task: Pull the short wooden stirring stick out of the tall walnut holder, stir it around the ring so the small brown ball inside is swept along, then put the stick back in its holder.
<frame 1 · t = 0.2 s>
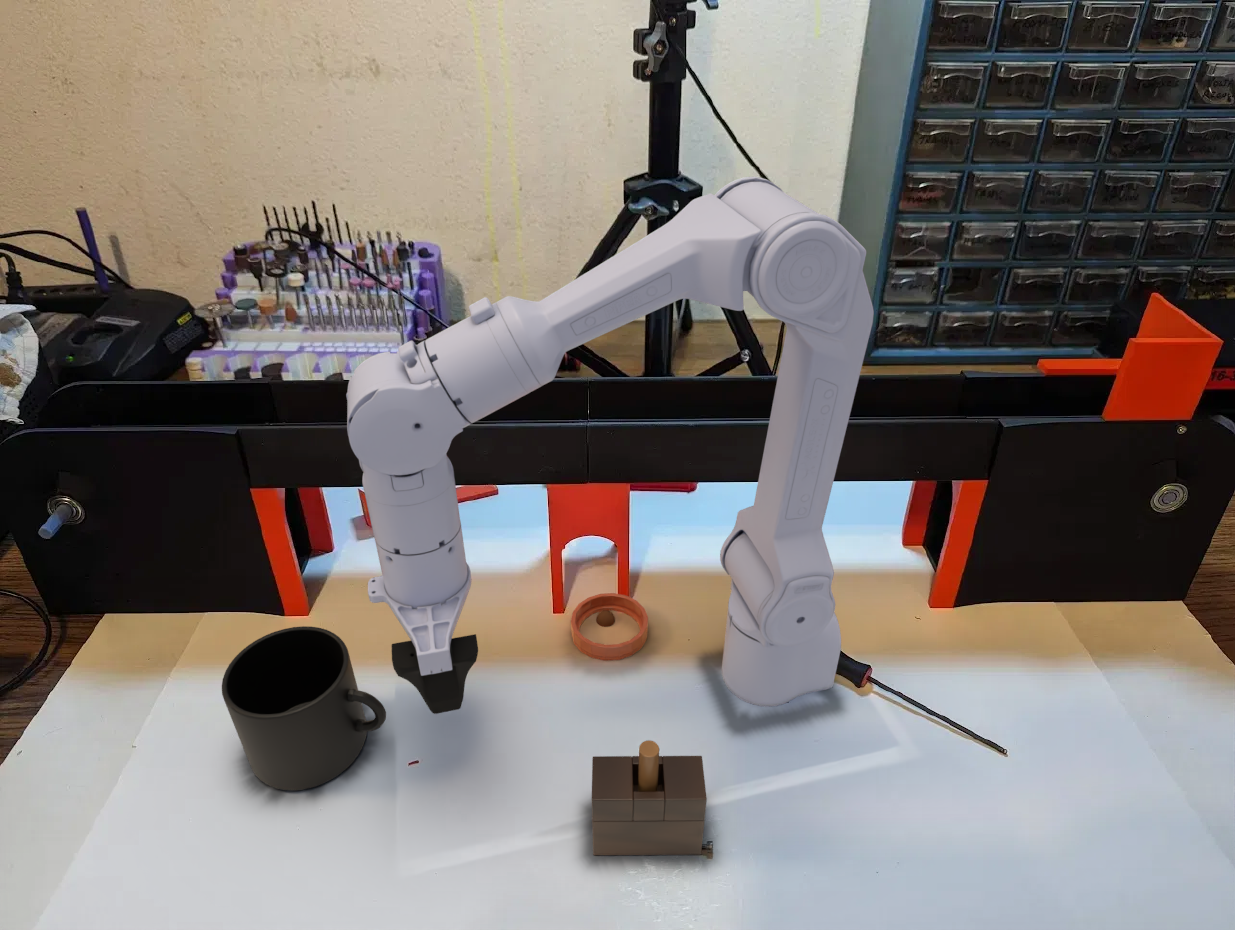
hand: (442, 668, 62), 10 cm above the workbench, tool pointing down, fingers open, 7 cm apart
ball: (605, 619, 78), point 1 cm above the workbench, touching ring
stand: (646, 832, 61), on the workbench
stick: (647, 798, 59), point 4 cm above the workbench, touching stand
mug: (325, 746, 68), on the workbench
ring: (609, 641, 78), on the workbench
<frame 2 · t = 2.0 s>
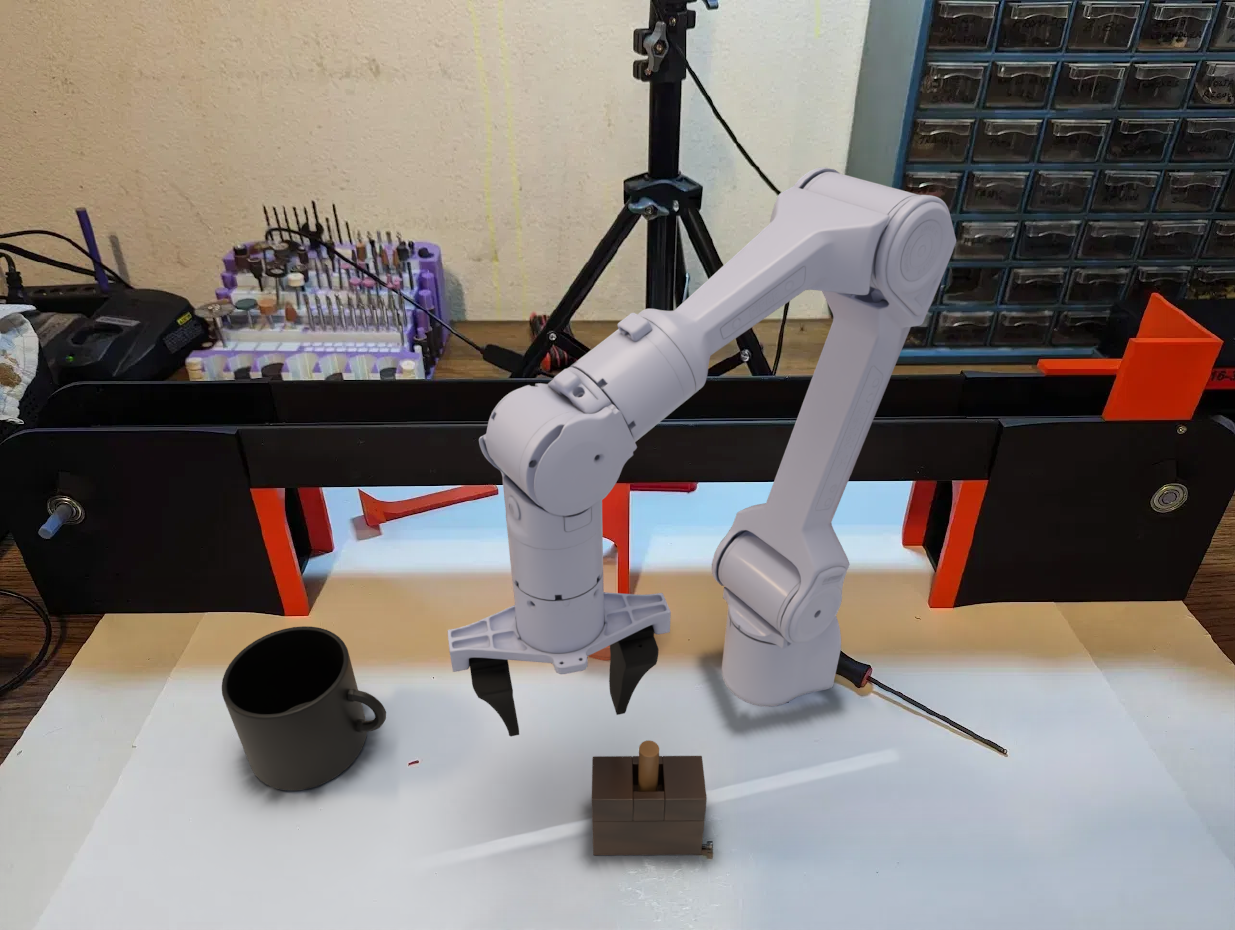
hand: (565, 713, 58), 10 cm above the workbench, tool pointing down, fingers open, 7 cm apart
nothing on the workbench moved.
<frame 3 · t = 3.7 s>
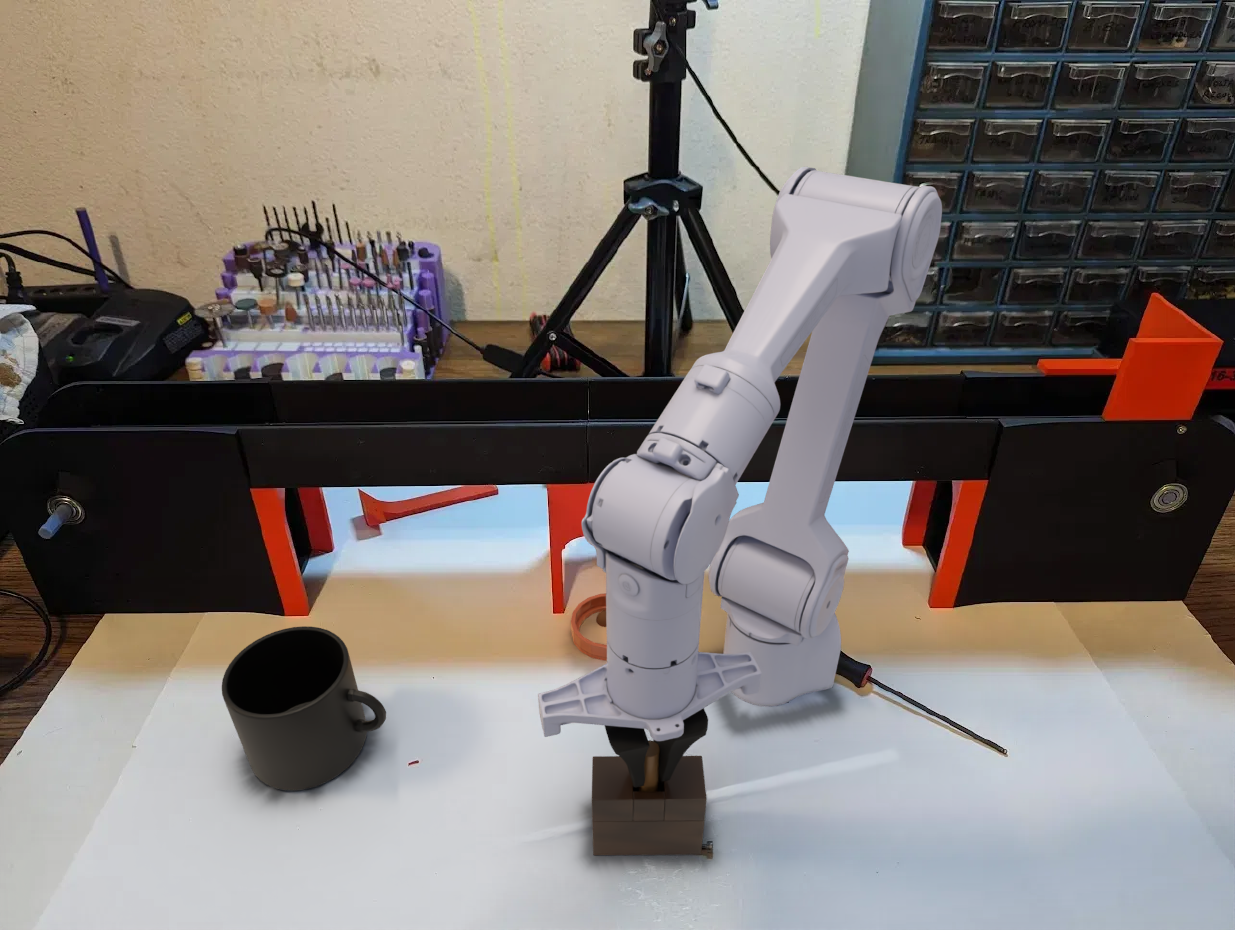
hand: (648, 771, 57), 7 cm above the workbench, tool pointing down, fingers closed on stick, 1 cm apart
stick: (647, 798, 59), point 4 cm above the workbench, touching gripper, stand
everything else where it was.
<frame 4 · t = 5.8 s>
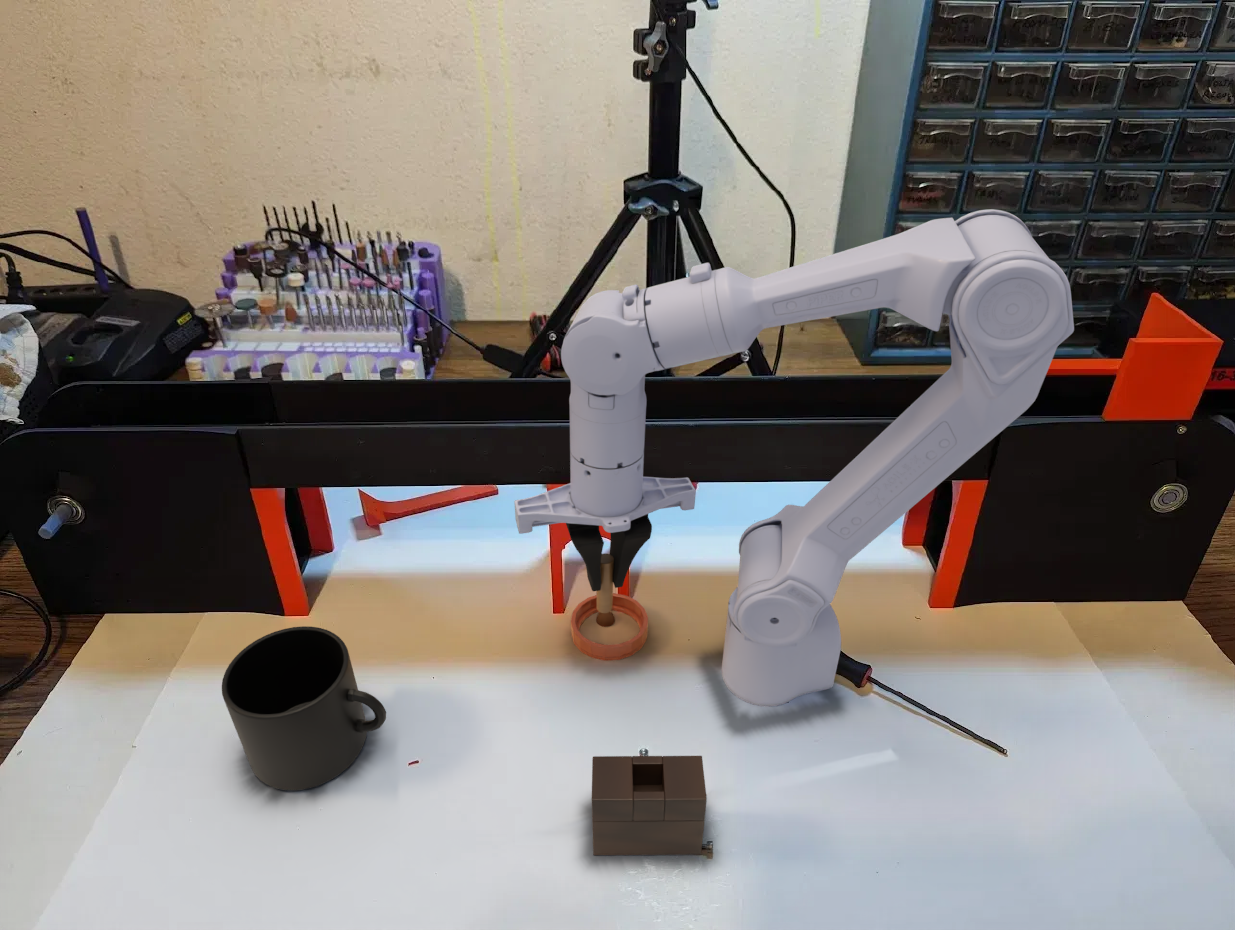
hand: (604, 581, 70), 10 cm above the workbench, tool pointing down, fingers closed on stick
stick: (604, 607, 71), point 7 cm above the workbench, touching gripper
everything else where it was.
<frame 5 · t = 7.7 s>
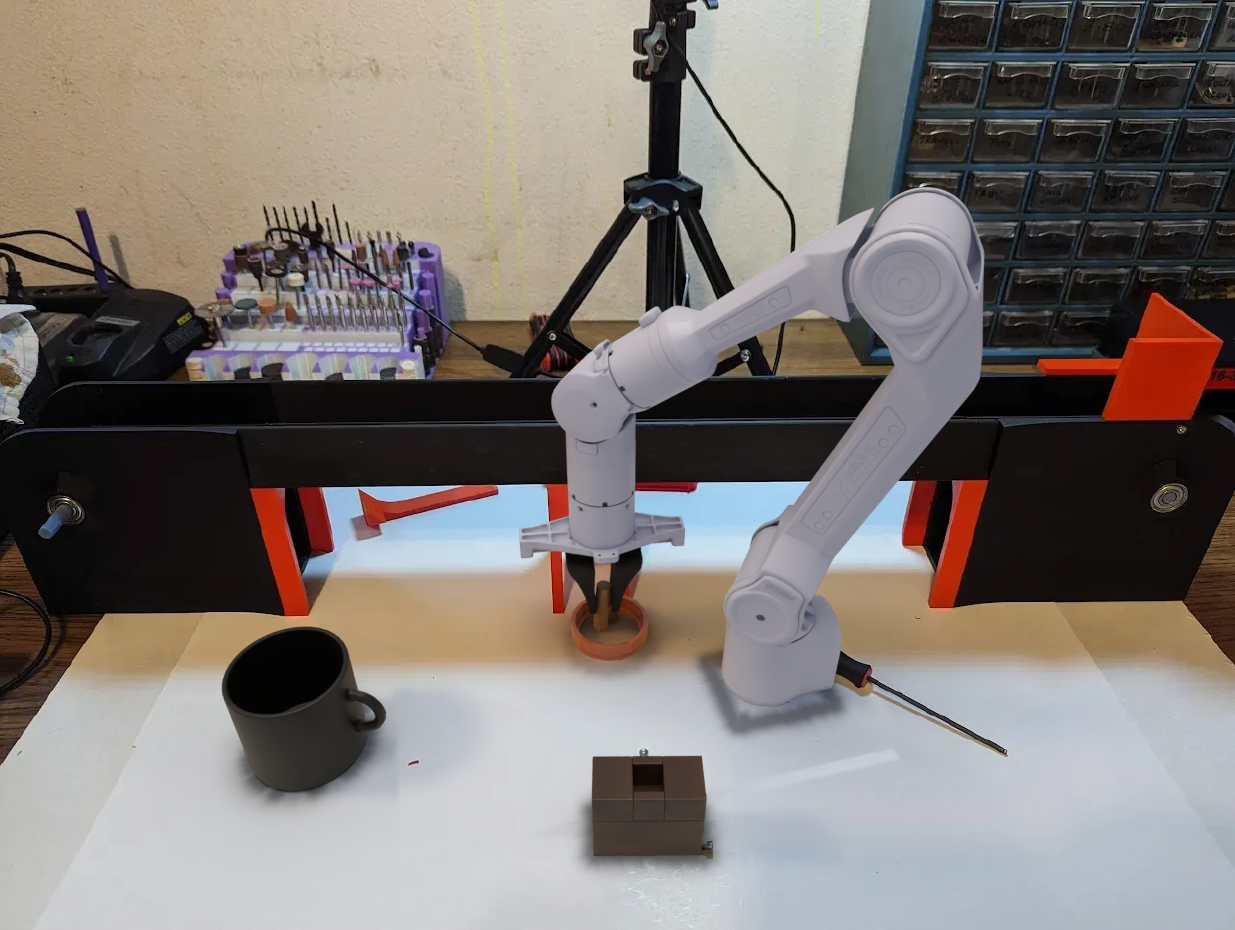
hand: (603, 605, 76), 4 cm above the workbench, tool pointing down, fingers closed on stick, 1 cm apart
ball: (608, 616, 79), point 1 cm above the workbench, tilted 27°, touching ring, stick
stick: (600, 630, 78), point 1 cm above the workbench, touching ball, gripper
everything else where it was.
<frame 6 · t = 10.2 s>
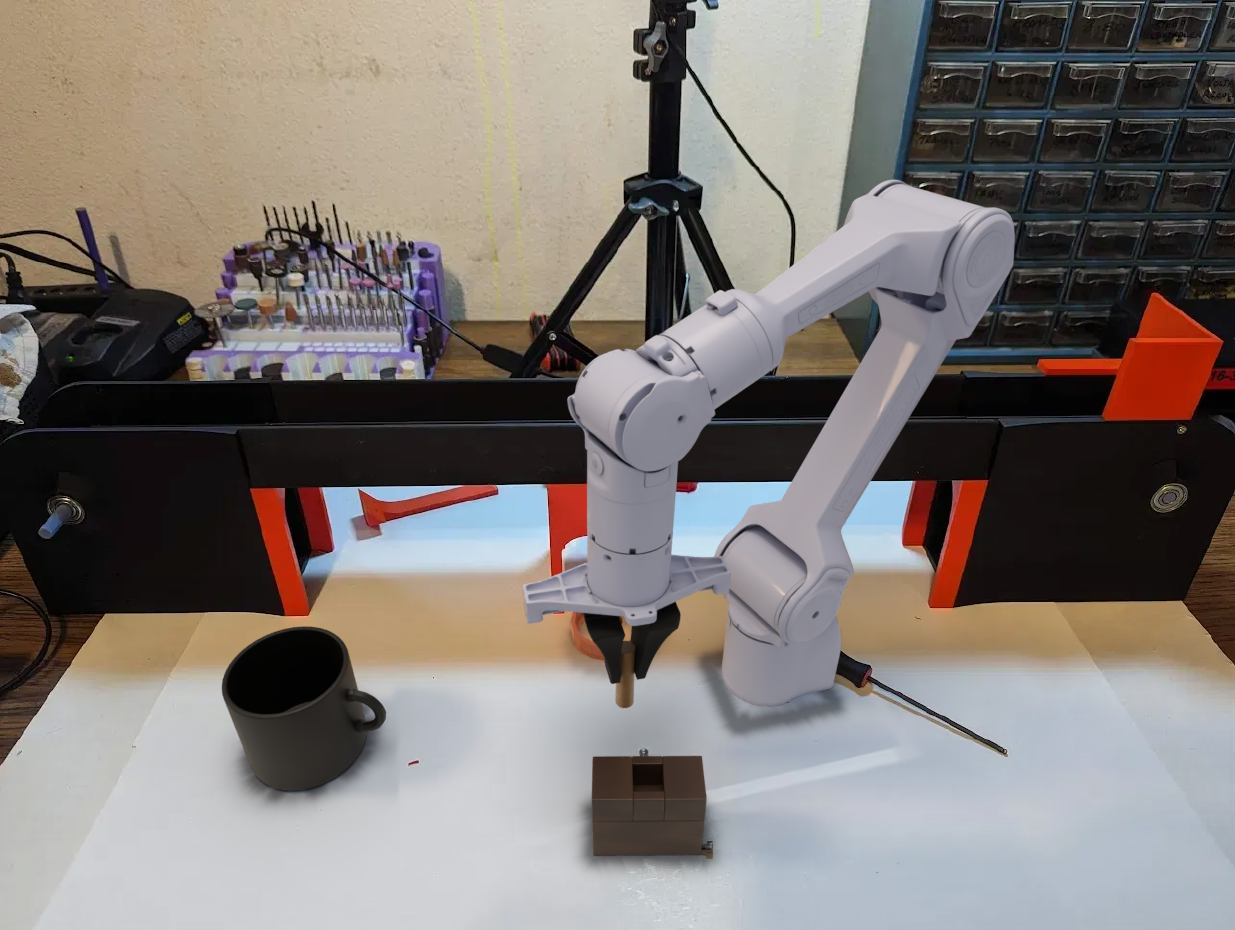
hand: (624, 671, 61), 10 cm above the workbench, tool pointing down, fingers closed on stick
ball: (613, 621, 78), point 1 cm above the workbench, tilted 15°, touching ring
stick: (624, 701, 62), point 7 cm above the workbench, touching gripper
everything else where it was.
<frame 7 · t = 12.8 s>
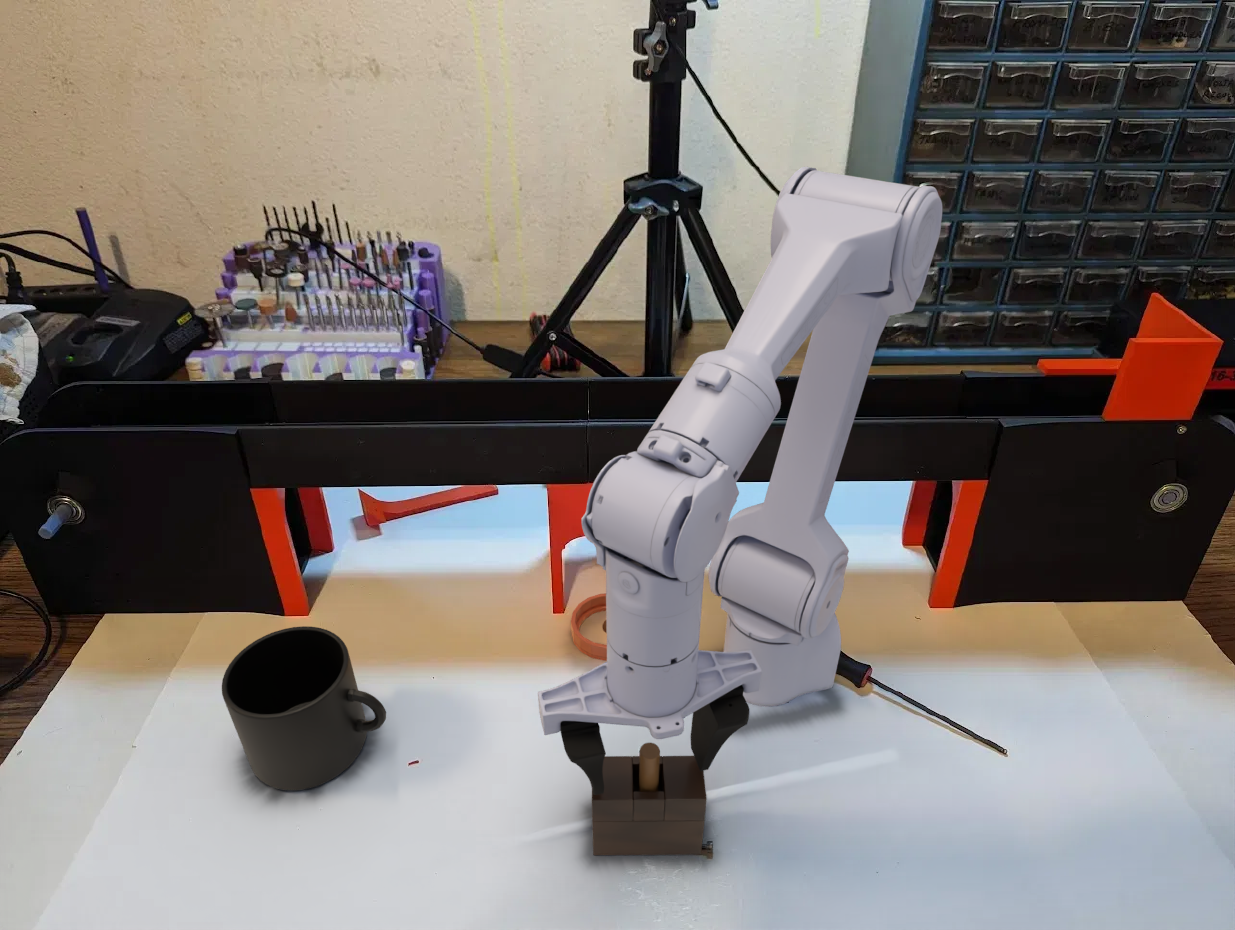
hand: (648, 770, 57), 8 cm above the workbench, tool pointing down, fingers open, 7 cm apart
ball: (611, 627, 77), point 1 cm above the workbench, tilted 61°, touching ring
stick: (648, 800, 59), point 4 cm above the workbench, touching stand
everything else where it was.
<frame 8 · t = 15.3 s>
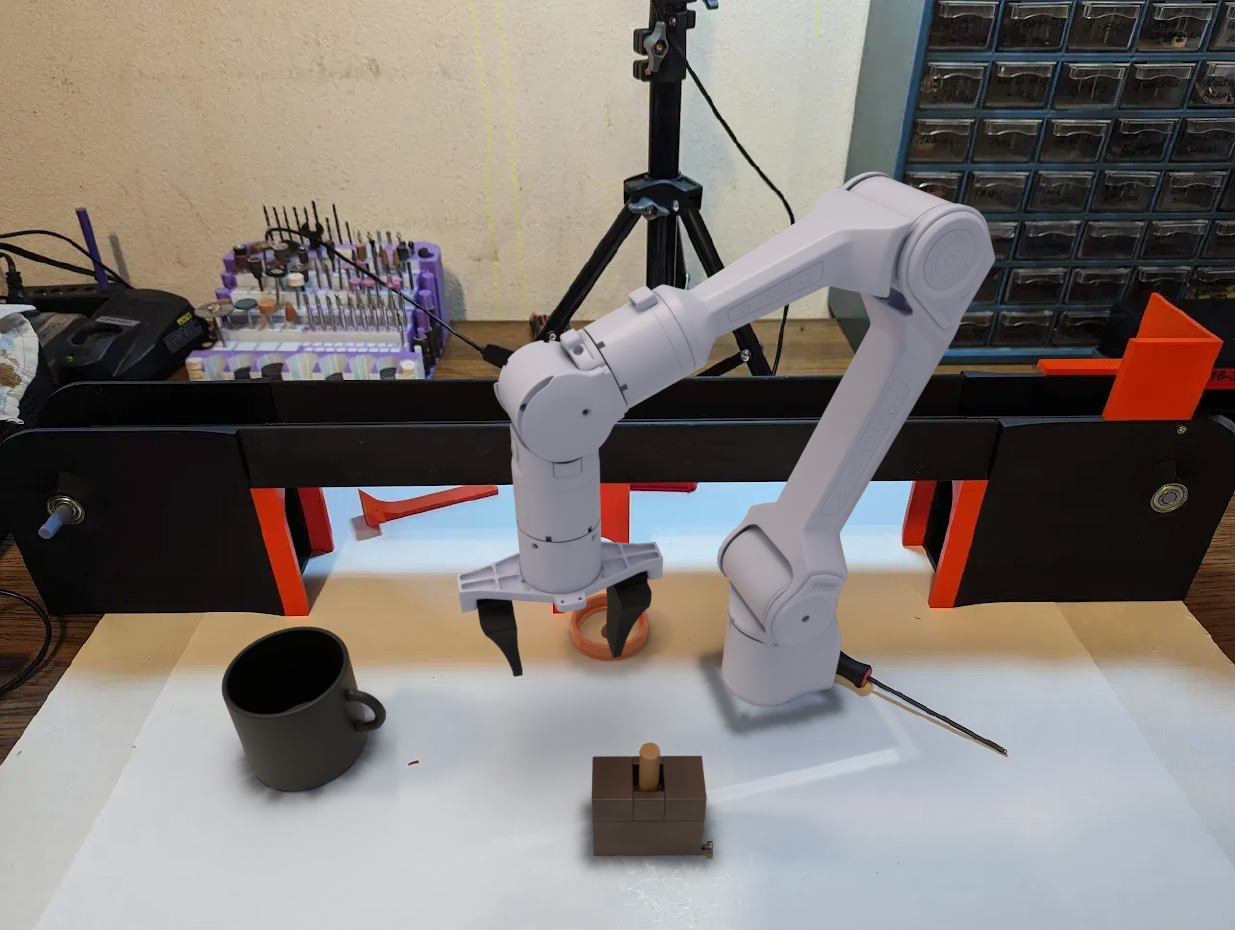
hand: (565, 657, 62), 10 cm above the workbench, tool pointing down, fingers open, 7 cm apart
ball: (610, 632, 77), point 1 cm above the workbench, tilted 105°, touching ring
everything else where it was.
at the end: ball moved 1.7 cm from its start; ball 0.1 cm off-centre in the ring, point 1.4 cm above the ring's base; stick 0.2 cm off-centre on the stand, point 4.3 cm above the stand's base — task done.
